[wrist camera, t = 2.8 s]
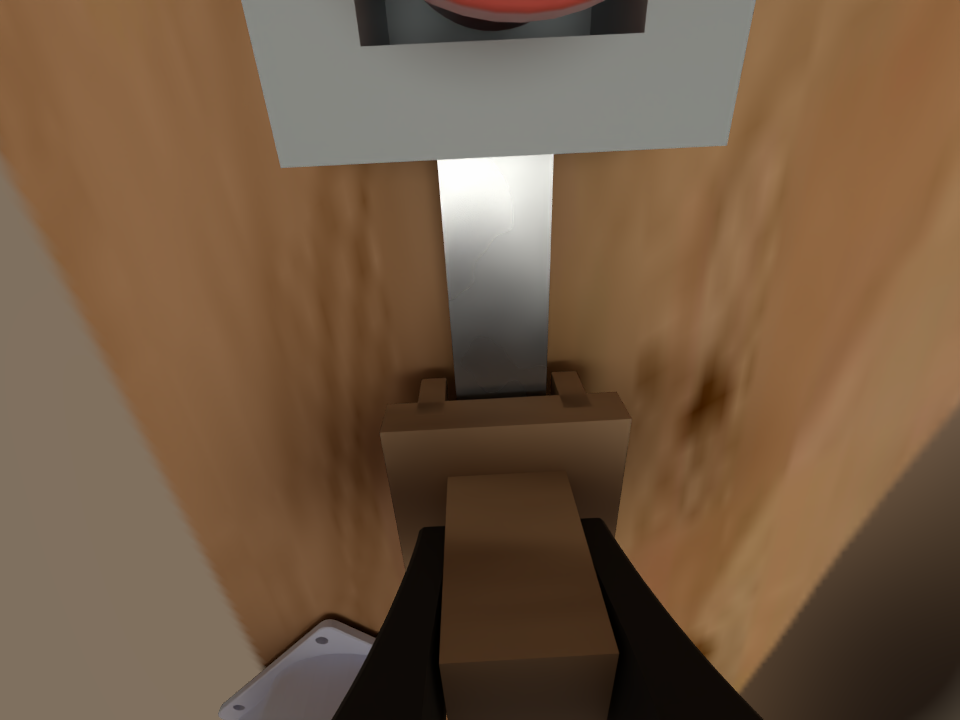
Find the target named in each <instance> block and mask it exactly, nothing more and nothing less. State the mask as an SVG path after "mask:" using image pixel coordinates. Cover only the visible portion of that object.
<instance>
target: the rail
mask: <svg viewBox="0 0 960 720" xmlns="http://www.w3.org/2000/svg"><path fill="white" fill-rule="evenodd" d="M553 155H554V154H546V155H526V156H506V157H486V158H466V159H446V160H437V163H438V176H439V188H440V200H441V212H442V225H443V237H444V249H445V261H446V274H447V286H448V298H449V310H450V323H451V335H452V347H453V359H454V372H455V384H456V396H457V400H476V399H494V398H513V397H531V396H546V376H547V345H548V313H549V282H550V250H551V218H552V187H553Z"/></svg>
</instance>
